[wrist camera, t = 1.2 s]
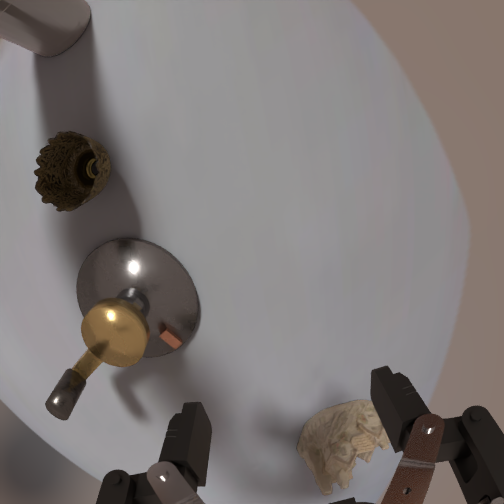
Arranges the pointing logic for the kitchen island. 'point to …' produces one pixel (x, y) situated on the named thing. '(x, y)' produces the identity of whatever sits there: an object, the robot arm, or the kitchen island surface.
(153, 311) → the post base
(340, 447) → the ceramic cottage
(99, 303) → the gold lever handle
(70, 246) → the kitchen island surface
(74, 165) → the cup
